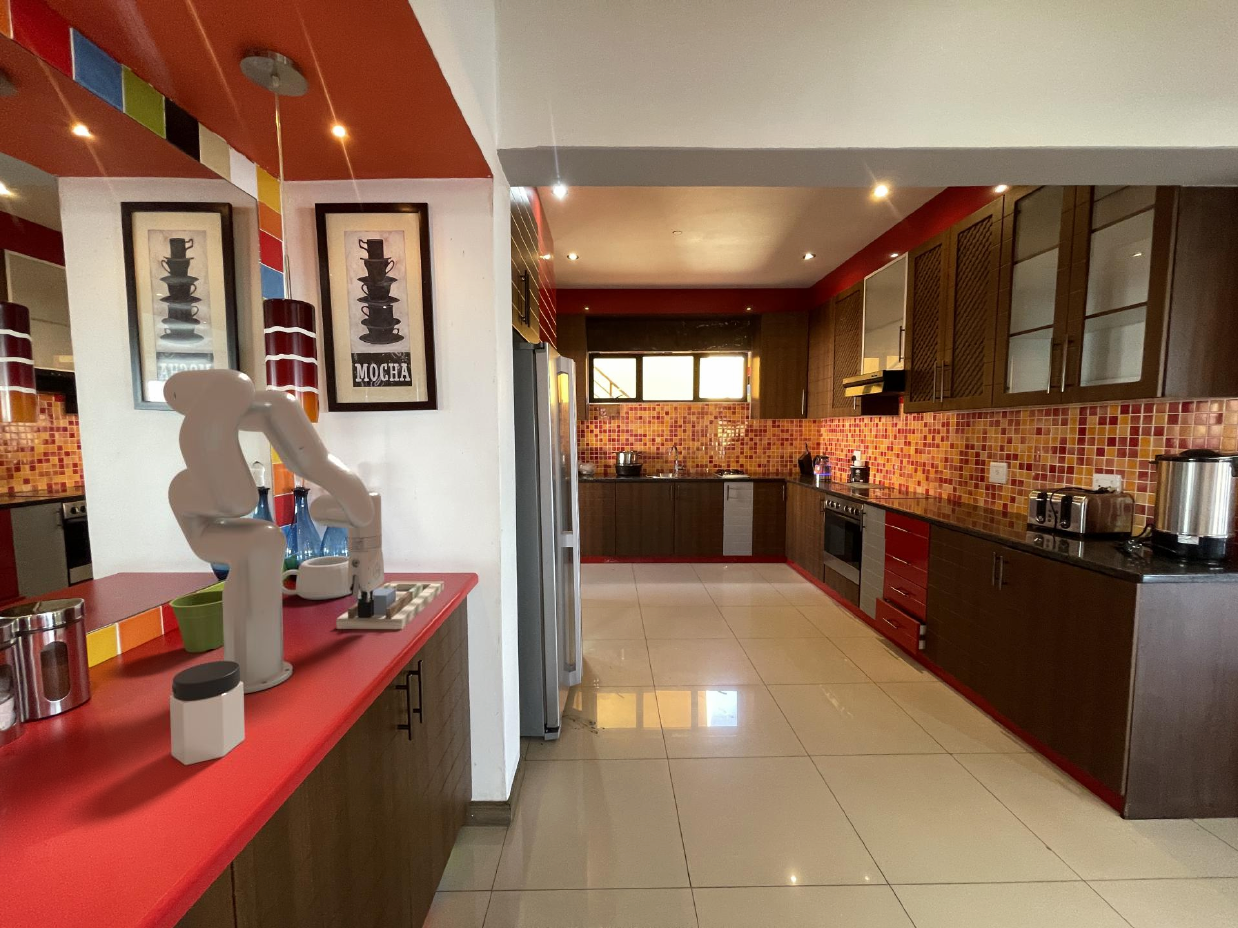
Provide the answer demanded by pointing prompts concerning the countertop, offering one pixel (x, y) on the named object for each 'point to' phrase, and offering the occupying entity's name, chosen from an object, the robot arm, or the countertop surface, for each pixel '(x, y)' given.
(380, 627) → the tunnel board
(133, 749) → the countertop surface
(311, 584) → the mug
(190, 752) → the jar
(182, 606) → the plant pot
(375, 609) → the slate block
